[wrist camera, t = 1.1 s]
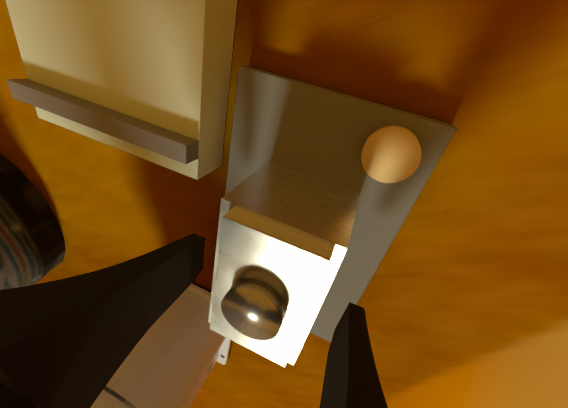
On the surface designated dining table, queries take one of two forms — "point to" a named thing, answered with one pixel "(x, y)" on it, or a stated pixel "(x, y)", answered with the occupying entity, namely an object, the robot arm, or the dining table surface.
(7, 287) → the beer stein
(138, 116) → the stand
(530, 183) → the dining table surface
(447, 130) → the mat
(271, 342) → the housing
